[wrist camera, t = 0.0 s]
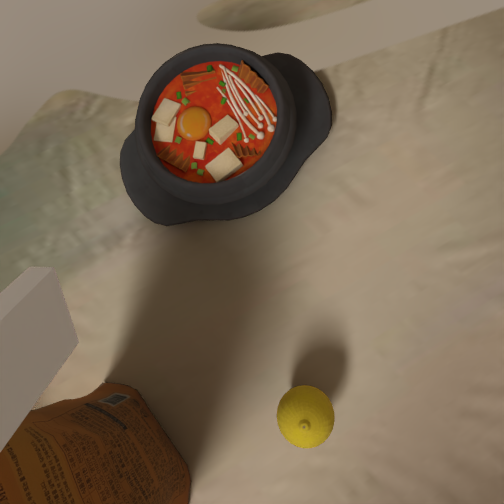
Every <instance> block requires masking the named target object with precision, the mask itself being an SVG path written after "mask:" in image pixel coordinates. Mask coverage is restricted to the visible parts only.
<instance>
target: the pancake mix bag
mask: <svg viewBox="0 0 504 504" xmlns="http://www.w3.org/2000/svg"><path fill="white" fill-rule="evenodd" d="M190 485H191V478H190V474H189V470H188V466H187V464H186V463H185V461H184V460H183V458H182V457H181V455H180V454H179V452H178V451H177V450H176V448H175V447H174V445H173V444H172V442H171V441H170V439H169V438H168V436H167V435H166V433H165V432H164V430H163V429H162V427H161V426H160V425H159V423H158V422H157V420H156V419H155V417H154V416H153V415H152V413H151V412H150V410H149V408H148V407H147V405H146V403H145V402H144V400H143V399H142V397H141V396H140V394H139V393H138V391H137V390H136V389H133V388H131V387H129V386H127V385H122V384H115V383H102V384H101V385H100V386H99V387H98V388H97V389H95V390H94V391H93V392H92V393H90V394H88V395H87V396H84V397H81V398H77V399H68V400H62V401H59V402H56V403H53V404H51V405H48V406H45V407H42V408H39V409H36V410H30V412H29V413H28V414H27V416H26V417H25V419H24V420H23V421H22V423H21V424H20V426H19V427H18V428H17V430H16V431H15V433H14V434H13V435H12V437H11V438H10V440H9V441H8V442H7V444H6V445H5V447H4V448H3V449H2V451H1V452H0V504H188V499H189V491H190Z"/></svg>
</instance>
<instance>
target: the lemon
mask: <svg viewBox="0 0 504 504" xmlns="http://www.w3.org/2000/svg"><path fill="white" fill-rule="evenodd" d="M277 422H278V426H279V428H280V431H281V433H282V434H283V436H284V437H285V439H287V440H288V441H289V442H290V443H291V444H293V445H295V446H297V447H301V448H313V447H316V446H318V445H320V444H322V443H323V442H324V441H325V440H326V439H327V438H328V437H329V435H330V433H331V431H332V430H333V426H334V410H333V406H332V404H331V402H330V400H329V398H328V397H327V396H326V395H325V394H324V393H323V392H322V391H321V390H319V389H318V388H315V387H312V386H307V385H302V386H296V387H294V388H292V389H290V390H289V391H288V392H287V393H285V394H284V396H283V397H282V399H281V400H280V403H279V405H278V409H277Z"/></svg>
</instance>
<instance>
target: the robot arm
mask: <svg viewBox="0 0 504 504" xmlns="http://www.w3.org/2000/svg"><path fill="white" fill-rule="evenodd" d="M78 343H79V341H78V338H77V335H76V332H75V329H74V325H73V322H72V319H71V316H70V313H69V310H68V307H67V304H66V301H65V298H64V295H63V292H62V289H61V286H60V283H59V280H58V277H57V274H56V271H55V268H54V267H28V268H27V269H26V270H25V271H24V272H23V273H22V274H21V275H20V276H19V277H17V278H16V279H15V280H14V281H13V282H12V283H11V284H10V285H9V286H8V287H6V288H5V289H4V290H3V291H2V292H1V293H0V452H1V451H2V449H3V448H4V447H5V445H6V444H7V442H8V441H9V440H10V438H11V437H12V435H13V434H14V433H15V431H16V430H17V428H18V427H19V426H20V424H21V423H22V421H23V420H24V419H25V417H26V416H27V414H28V413H29V412H30V410H31V409H32V407H33V406H34V405H35V403H36V402H37V400H38V399H39V398H40V396H41V395H42V393H43V392H44V391H45V389H46V388H47V386H48V385H49V384H50V382H51V381H52V379H53V378H54V377H55V375H56V374H57V372H58V371H59V370H60V368H61V367H62V365H63V364H64V363H65V361H66V360H67V358H68V357H69V355H70V354H71V353H72V351H73V350H74V348H75V347H76V346H77V344H78Z"/></svg>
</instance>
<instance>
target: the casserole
mask: <svg viewBox="0 0 504 504" xmlns="http://www.w3.org/2000/svg"><path fill="white" fill-rule="evenodd" d="M331 126H332V111H331V107H330V103H329V98H328V96H327V93H326V91H325V89H324V87H323V85H322V83H321V81H320V80H319V79H318V77H317V76H316V75H315V73H314V72H313V71H312V70H311V69H310V68H309V67H308V66H306V64H304V63H303V62H302V61H301V60H299V59H297V58H295V57H294V56H292V55H289V54H284V53H274V54H269V55H265V56H260V55H258V54H256V53H255V52H253V51H250V50H247V49H244V48H240V47H236V46H233V45H227V44H218V43H217V44H203V45H200V46H196V47H192V48H189V49H187V50H185V51H183V52H180V53H178V54H176V55H175V56H173V57H172V58H170V59H169V60H168V61H166V62H165V63H164V64H163V65H162V66H161V67H160V68H159V69H158V70H157V71H156V72H155V73H154V74H153V76H152V77H151V79H150V80H149V82H148V83H147V85H146V86H145V89H144V91H143V93H142V95H141V98H140V101H139V106H138V110H137V115H136V119H135V129H134V131H133V132H132V133H131V134H130V135H129V136H128V137H127V138H126V140H125V142H124V144H123V147H122V149H121V152H120V169H121V175H122V180H123V183H124V185H125V188H126V191H127V193H128V195H129V197H130V198H131V200H132V202H133V203H134V205H135V206H136V207H137V208H138V209H139V210H140V212H141V213H142V214H143V215H144V216H145V217H147V218H148V219H150V220H151V221H153V222H154V223H157V224H161V225H165V226H170V225H176V224H182V223H187V222H192V221H196V220H232V219H237V218H242V217H246V216H248V215H250V214H253V213H255V212H258V211H260V210H262V209H263V208H265V207H266V206H267V205H269V204H270V203H272V202H273V201H275V200H276V199H277V198H278V197H279V196H280V195H281V194H282V193H283V192H284V191H285V190H286V189H287V187H288V186H289V184H290V183H291V181H292V180H293V178H294V177H295V175H296V174H297V172H298V171H299V169H300V168H301V166H302V165H303V163H304V162H305V160H306V159H307V158H308V157H309V156H310V155H311V154H312V153H313V152H314V151H315V150H316V149H317V148H318V147H319V146H320V145H321V144H322V143H323V142H324V140H325V139H326V138H327V137H328V134H329V131H330V128H331Z"/></svg>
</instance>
